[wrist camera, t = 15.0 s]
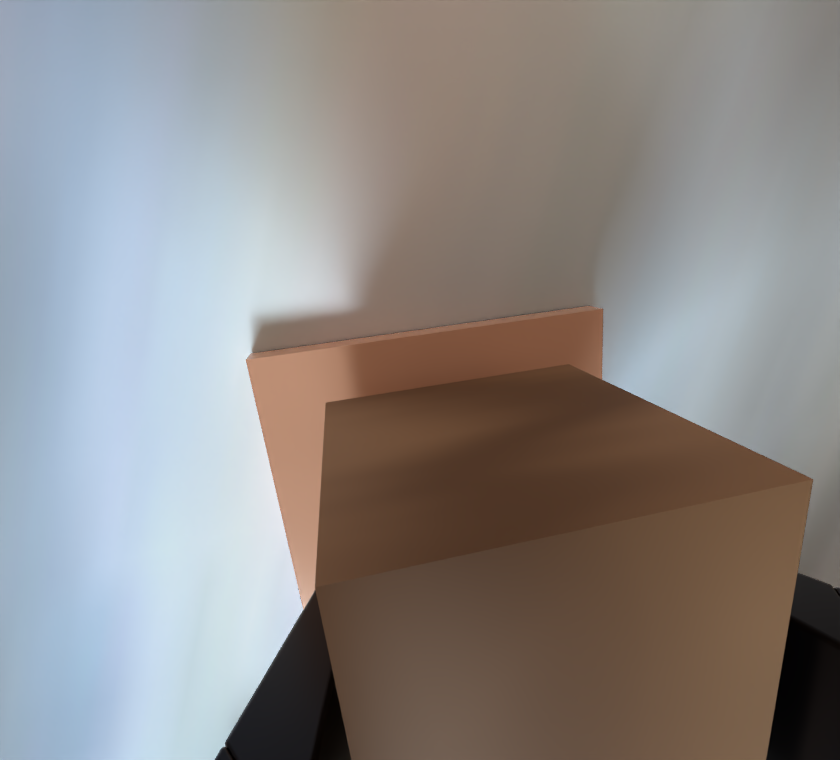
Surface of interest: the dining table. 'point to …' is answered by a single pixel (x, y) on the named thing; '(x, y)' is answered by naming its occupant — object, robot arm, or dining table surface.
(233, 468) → the dining table surface
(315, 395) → the coaster
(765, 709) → the walnut block
